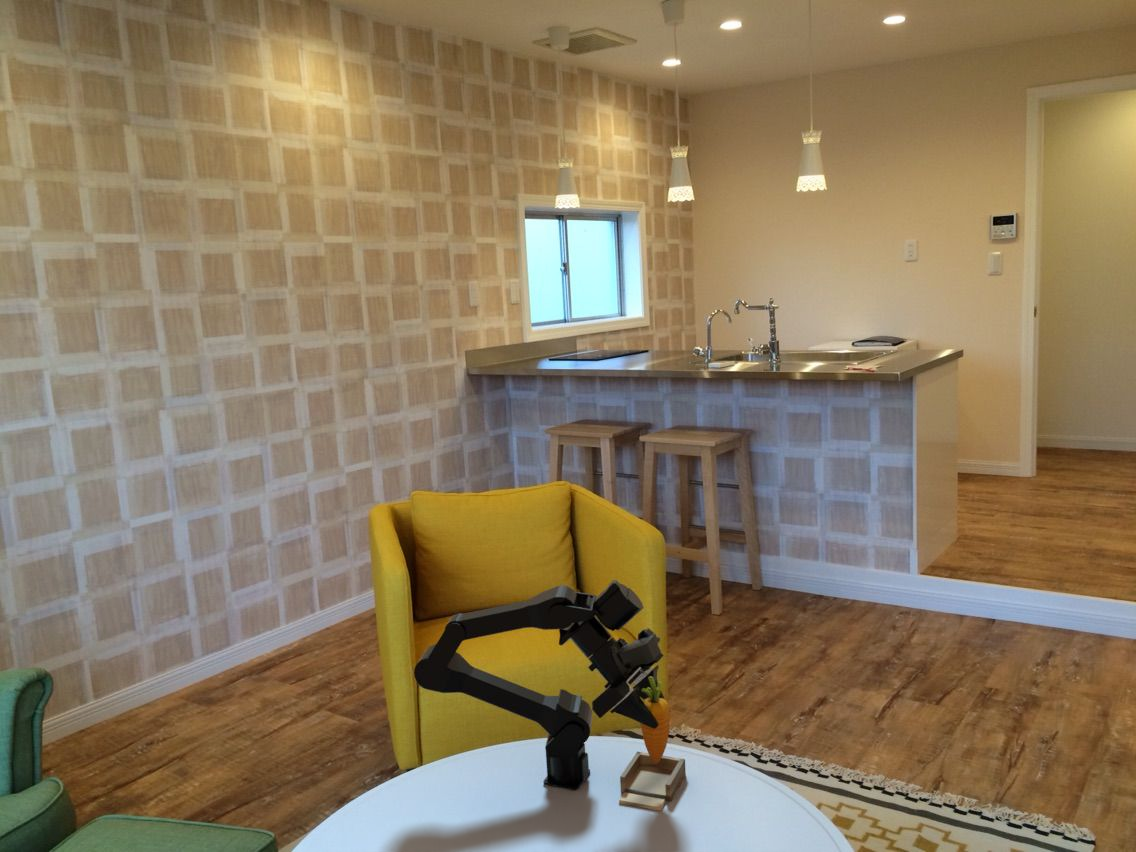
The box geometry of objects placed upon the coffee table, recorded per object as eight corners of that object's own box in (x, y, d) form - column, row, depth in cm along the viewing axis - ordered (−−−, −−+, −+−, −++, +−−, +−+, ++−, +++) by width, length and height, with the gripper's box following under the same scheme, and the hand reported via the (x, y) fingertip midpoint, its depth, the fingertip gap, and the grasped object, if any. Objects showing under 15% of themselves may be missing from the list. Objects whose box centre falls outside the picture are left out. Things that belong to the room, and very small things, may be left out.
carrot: (668, 772, 154) (666, 687, 151) (639, 769, 155) (636, 685, 152) (672, 757, 158) (670, 674, 156) (643, 754, 160) (641, 672, 157)
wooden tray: (614, 802, 155) (613, 785, 154) (637, 767, 166) (637, 751, 165) (665, 811, 151) (664, 794, 151) (685, 775, 162) (684, 759, 162)
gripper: (607, 641, 146) (674, 719, 143) (651, 601, 162) (712, 671, 159) (564, 679, 151) (629, 756, 148) (611, 638, 167) (670, 706, 164)
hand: (662, 720), depth 155 cm, fingers closed on carrot, 5 cm apart
